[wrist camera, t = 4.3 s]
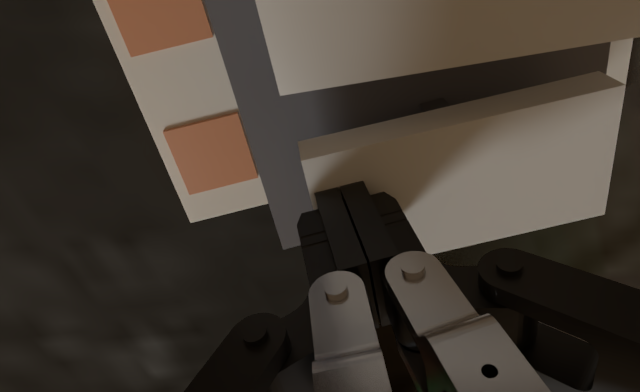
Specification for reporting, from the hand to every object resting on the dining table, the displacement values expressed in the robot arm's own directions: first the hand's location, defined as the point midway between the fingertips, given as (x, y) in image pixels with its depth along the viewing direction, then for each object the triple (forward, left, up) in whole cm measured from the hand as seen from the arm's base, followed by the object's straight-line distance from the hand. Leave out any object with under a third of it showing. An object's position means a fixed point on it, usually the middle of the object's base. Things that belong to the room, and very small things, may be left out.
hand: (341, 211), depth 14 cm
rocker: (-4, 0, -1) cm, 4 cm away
